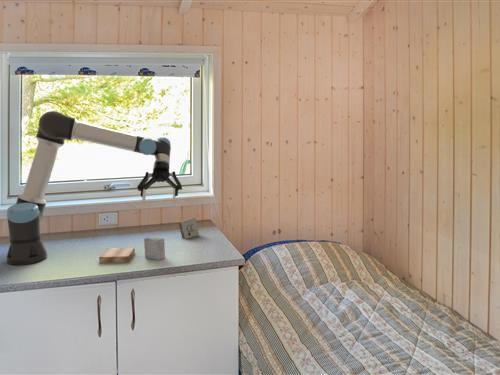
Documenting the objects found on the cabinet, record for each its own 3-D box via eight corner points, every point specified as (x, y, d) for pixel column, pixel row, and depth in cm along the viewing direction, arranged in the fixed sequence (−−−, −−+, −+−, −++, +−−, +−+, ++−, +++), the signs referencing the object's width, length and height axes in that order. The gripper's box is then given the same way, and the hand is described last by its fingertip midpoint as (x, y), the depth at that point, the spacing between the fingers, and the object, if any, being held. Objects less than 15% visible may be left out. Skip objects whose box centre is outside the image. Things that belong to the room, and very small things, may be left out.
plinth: (99, 262, 172) (99, 257, 172) (107, 253, 184) (106, 248, 184) (128, 262, 173) (128, 256, 173) (134, 253, 185) (134, 247, 184)
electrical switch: (185, 239, 206) (184, 221, 205) (178, 238, 209) (177, 220, 208) (199, 235, 213) (197, 217, 212) (192, 235, 216) (190, 217, 216)
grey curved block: (165, 257, 178) (164, 238, 177) (157, 260, 175) (157, 240, 173) (152, 254, 183) (151, 235, 181) (144, 257, 179) (143, 238, 178)
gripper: (188, 169, 204) (187, 205, 191) (136, 170, 202) (132, 207, 190) (186, 159, 198) (185, 196, 185) (133, 161, 196) (129, 198, 183)
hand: (158, 202), depth 187 cm, fingers open, 13 cm apart
